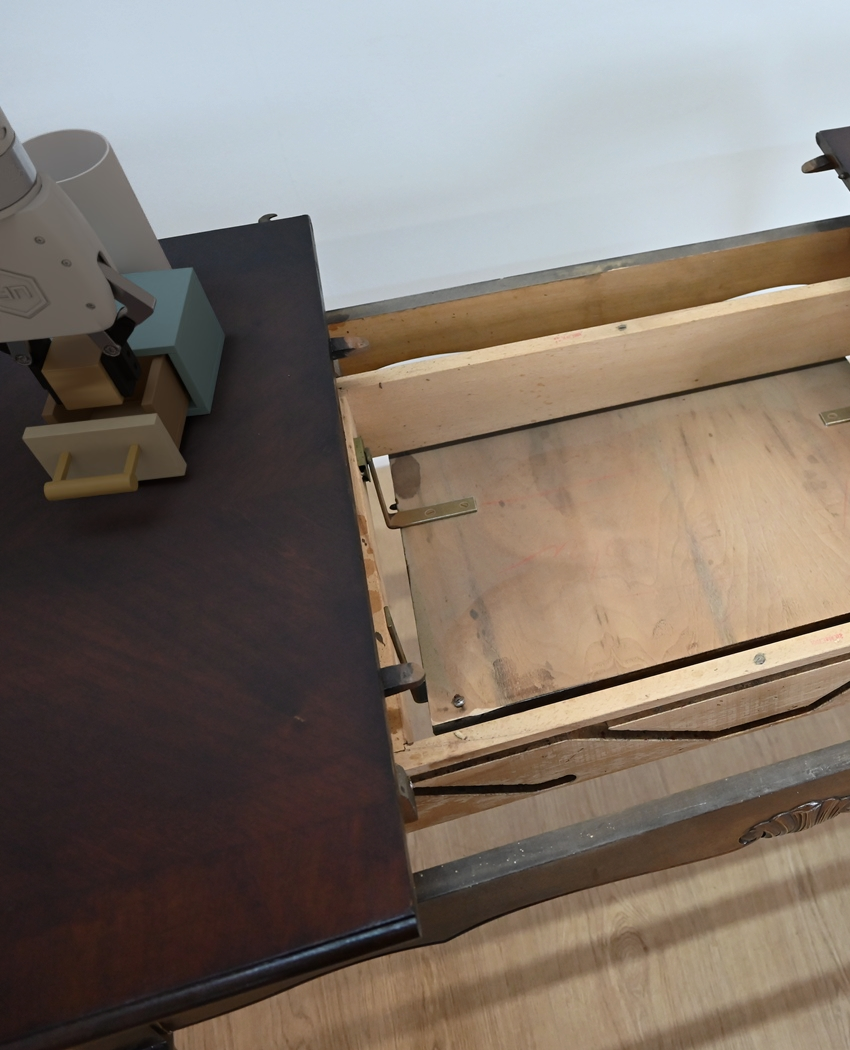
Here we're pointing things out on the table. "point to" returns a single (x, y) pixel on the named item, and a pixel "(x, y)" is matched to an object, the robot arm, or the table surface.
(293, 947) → the table surface
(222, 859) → the table surface
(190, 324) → the cabinet
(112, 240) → the cup
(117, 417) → the drawer
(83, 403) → the block
